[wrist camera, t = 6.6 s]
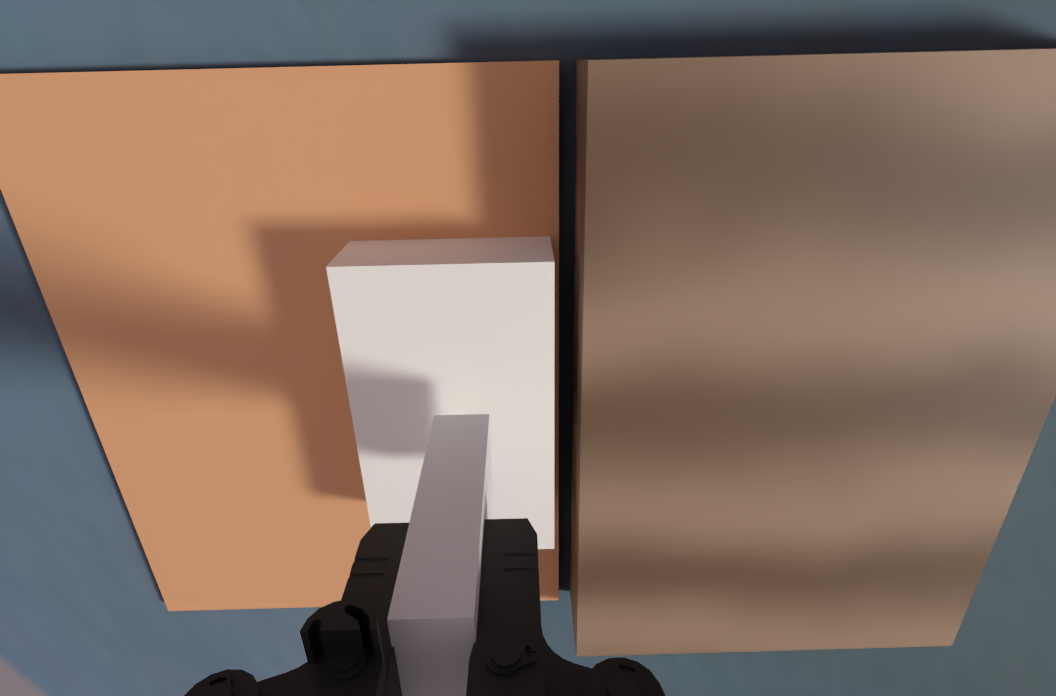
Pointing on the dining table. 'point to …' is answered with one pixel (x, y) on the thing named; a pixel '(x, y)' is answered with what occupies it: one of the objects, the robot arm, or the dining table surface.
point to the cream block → (450, 363)
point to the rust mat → (255, 282)
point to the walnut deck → (804, 342)
